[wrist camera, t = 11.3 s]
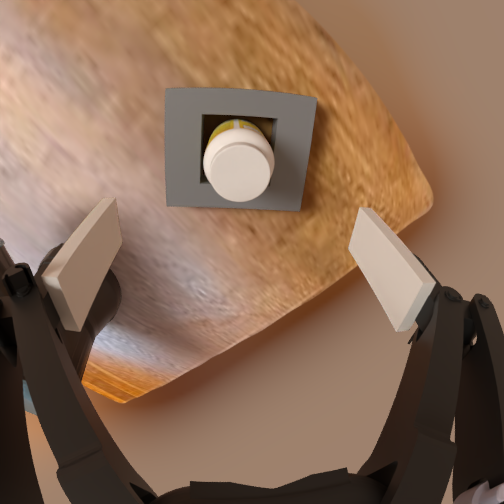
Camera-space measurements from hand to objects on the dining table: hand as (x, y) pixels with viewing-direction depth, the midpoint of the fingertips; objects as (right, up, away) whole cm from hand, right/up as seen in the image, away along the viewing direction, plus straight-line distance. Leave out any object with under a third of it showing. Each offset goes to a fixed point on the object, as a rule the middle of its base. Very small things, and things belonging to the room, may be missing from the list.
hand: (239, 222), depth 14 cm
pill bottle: (-1, +11, +15) cm, 19 cm away
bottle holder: (-1, +10, +15) cm, 19 cm away
